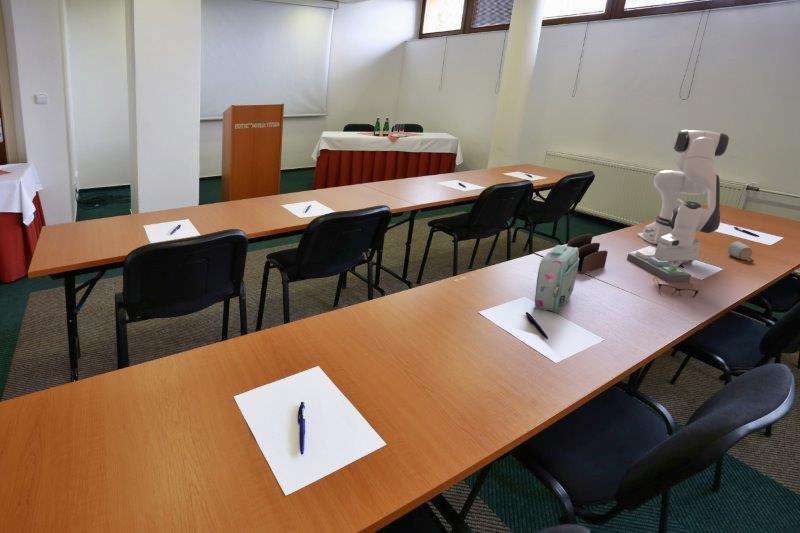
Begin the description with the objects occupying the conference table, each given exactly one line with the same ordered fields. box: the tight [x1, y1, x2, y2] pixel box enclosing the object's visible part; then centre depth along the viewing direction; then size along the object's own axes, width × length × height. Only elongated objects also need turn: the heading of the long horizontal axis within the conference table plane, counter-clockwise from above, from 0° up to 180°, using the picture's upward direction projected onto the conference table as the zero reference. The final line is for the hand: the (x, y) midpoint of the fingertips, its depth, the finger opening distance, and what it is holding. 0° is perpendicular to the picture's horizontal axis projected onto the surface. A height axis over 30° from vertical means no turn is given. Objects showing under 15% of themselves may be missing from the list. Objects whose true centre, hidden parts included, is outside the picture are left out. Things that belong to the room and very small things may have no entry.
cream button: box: [635, 250, 655, 259], centre depth 221 cm, size 6×6×3 cm
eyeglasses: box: [653, 276, 699, 299], centre depth 193 cm, size 14×14×4 cm
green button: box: [662, 267, 684, 273], centre depth 206 cm, size 6×6×3 cm
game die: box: [680, 260, 695, 266], centre depth 224 cm, size 9×8×10 cm
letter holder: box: [566, 233, 608, 275], centre depth 209 cm, size 10×20×14 cm, turn 129°
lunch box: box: [534, 244, 579, 314], centre depth 169 cm, size 27×10×21 cm, turn 150°
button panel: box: [626, 252, 692, 283], centre depth 214 cm, size 28×11×3 cm, turn 13°
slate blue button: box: [648, 257, 669, 266], centre depth 214 cm, size 6×6×3 cm
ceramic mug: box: [727, 241, 753, 261], centre depth 239 cm, size 11×8×8 cm
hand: (672, 269), depth 206 cm, fingers closed, pressing on green button
